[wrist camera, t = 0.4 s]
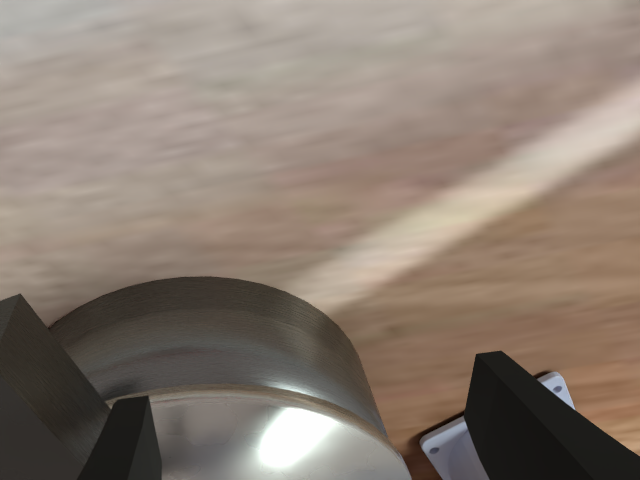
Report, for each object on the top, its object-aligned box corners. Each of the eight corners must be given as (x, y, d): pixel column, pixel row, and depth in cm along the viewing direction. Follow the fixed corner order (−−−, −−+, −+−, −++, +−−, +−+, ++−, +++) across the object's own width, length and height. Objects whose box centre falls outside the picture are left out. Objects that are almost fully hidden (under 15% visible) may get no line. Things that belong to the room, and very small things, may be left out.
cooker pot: (431, 350, 27) (486, 456, 22) (262, 549, 33) (275, 669, 28) (-65, 151, 18) (-163, 251, 13) (-180, 470, 24) (-278, 626, 19)
